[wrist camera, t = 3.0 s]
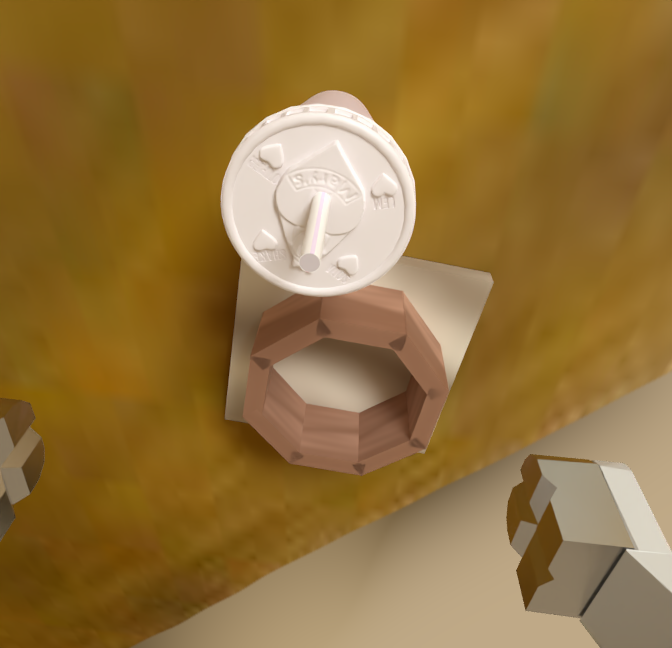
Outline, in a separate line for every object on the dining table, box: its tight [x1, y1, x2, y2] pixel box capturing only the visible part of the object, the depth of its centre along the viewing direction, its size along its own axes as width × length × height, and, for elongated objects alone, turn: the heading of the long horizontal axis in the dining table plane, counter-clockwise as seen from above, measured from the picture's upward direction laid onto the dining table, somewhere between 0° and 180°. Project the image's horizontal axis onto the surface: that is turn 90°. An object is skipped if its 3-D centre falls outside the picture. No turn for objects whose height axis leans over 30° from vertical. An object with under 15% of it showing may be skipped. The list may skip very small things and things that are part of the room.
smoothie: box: [221, 90, 416, 297], centre depth 20 cm, size 6×6×14 cm
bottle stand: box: [225, 256, 494, 476], centre depth 31 cm, size 13×13×5 cm
